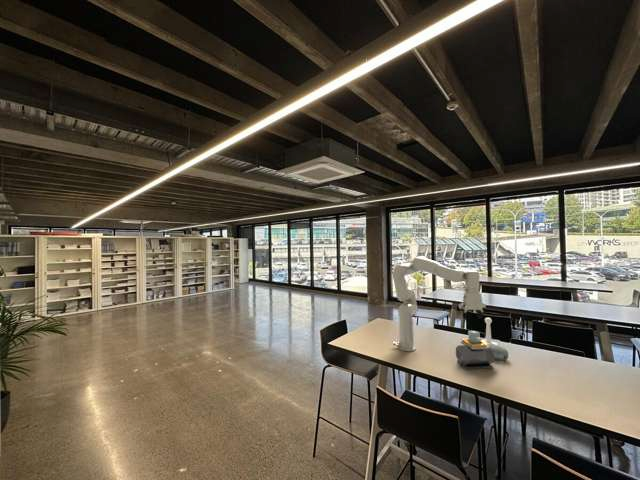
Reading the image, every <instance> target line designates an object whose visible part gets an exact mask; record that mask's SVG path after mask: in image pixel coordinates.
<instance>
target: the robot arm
mask: <svg viewBox="0 0 640 480" xmlns="http://www.w3.org/2000/svg"><path fill="white" fill-rule="evenodd" d="M420 271H422V272H426V273H429V274H432V275H435V276H437V277H439V278H441V279H443V280H446V281H448V282H449V281H450V282H453V283H459V282H464V288H463V291H464V292H463V298H462V302H461V303H459V304H458V308H459V310H460V311H461V312H462V319H464V320H467V319H468V313H467V311H477V318H478V319H481V320H482V319H483V313H484V311H485V310H486V307H487V304H485V303H483V298H482V294H481V292H480V273H479V271H478V270H475V269H469V270H467V269H461V268H458V269H453V268H450V267H447V266H445V265H442V264H441V263H440V262H439V261H435V260H432V259H429V258H427V257H426V256H422V255H421V256H416V257H414V258H413V259H412V260H411V261H409V262H405V263H400V264H398V265H397V266H396V267H394V268H393V271H392V280H393V284H394V290H395V294H396V298H397V300H398V301H400V302H403V303H401V304H400V305H399V307H398V308H397V313H398V320H399V321H398V322H399V323H398V326H399V331H398V332H399V333H398V335H399V339H398V341H396V342H395V341H394V342H392V345H393V346H396V347H397V348H398V349H399V350H400V351H404V352H413V351H416V350H417V347H416V345H414V341H415V340H414V318H413V315H415V314H416V313H417V312H418V305H417V304H418V303H417V299H416V294H415V291H414V290H413V289H412V288H411V287H409V286H408V284H407V280H406V278H405V277H406V276H408V275H412V274H415V273H417V272H420Z"/></svg>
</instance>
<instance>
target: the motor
mask: <svg viewBox="0 0 640 480" xmlns="http://www.w3.org/2000/svg"><path fill="white" fill-rule="evenodd" d="M459 342H460V344H461V345H457V346H456V347H455V355H456V363H457V364H459V365H460V366H461V367H462V368H465V370H467V371H469V370H470V371H471V370H489V369H491V370H493V369H494V366H493V365H492V364H493V363H494V361H495V359H494V353H493V351H492V349H491V348H490V347H489V346H488V345H487V344H486V343H484V342H482V341H480V344H471V343H470V342H469V341H468V338H462V339H461V340H460V341H459Z"/></svg>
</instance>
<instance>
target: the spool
mask: <svg viewBox="0 0 640 480" xmlns="http://www.w3.org/2000/svg"><path fill="white" fill-rule="evenodd" d="M488 346H489V347H490V348H491V349H492V351H493V353H494V360H497V361H507V360H508V359H509V352H508V350H507V349H506V348H505V347H503V346H499V345H498V346H496V345H488Z"/></svg>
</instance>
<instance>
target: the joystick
mask: <svg viewBox="0 0 640 480" xmlns="http://www.w3.org/2000/svg"><path fill="white" fill-rule="evenodd" d="M492 322H493V320H492V318H491V317H485V318H484V323H486V324H485V325H486V328H485V339H482V342H484V343H486V344H487V345H496V346H499V344H498V342H494V341H492V329H491V324H492Z"/></svg>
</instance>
